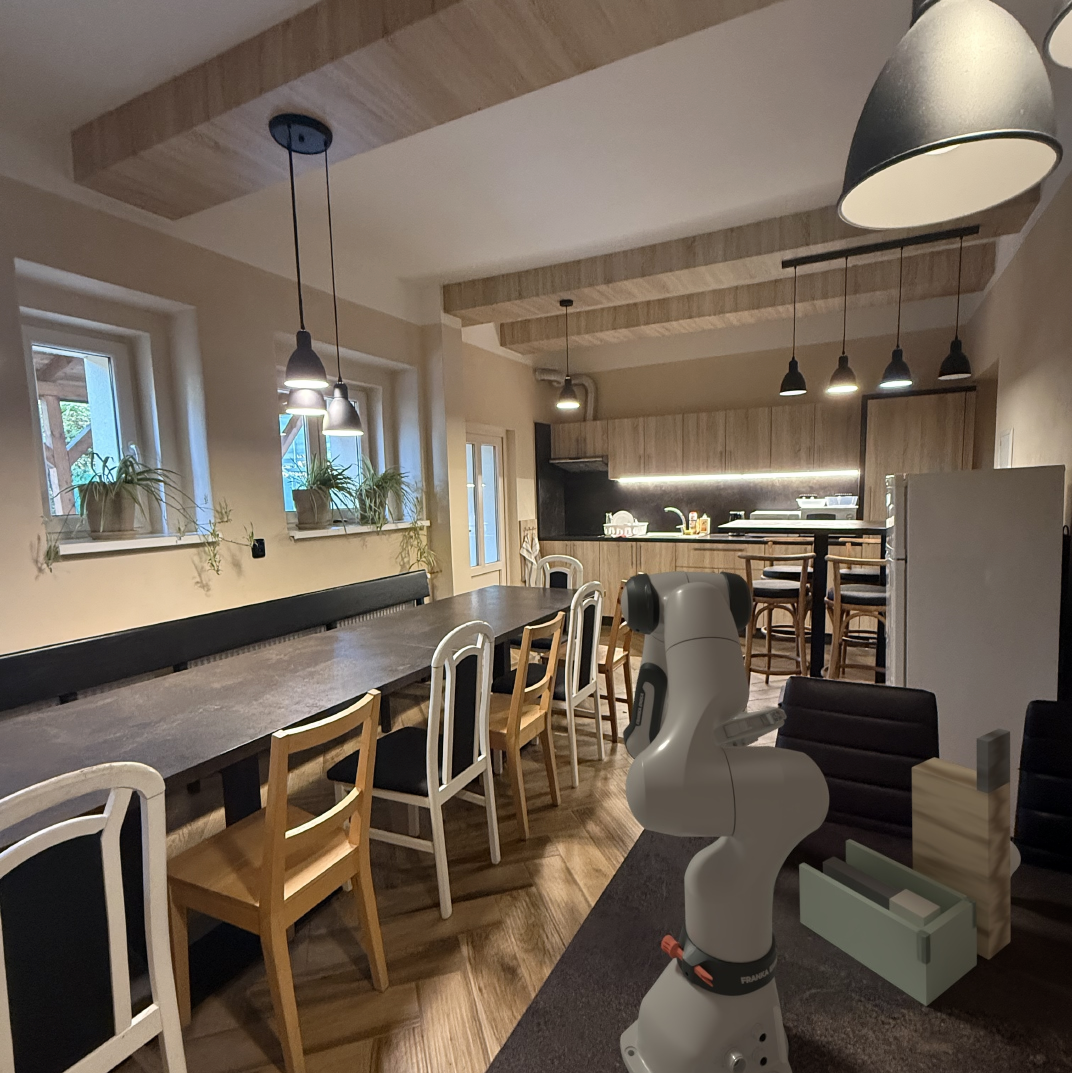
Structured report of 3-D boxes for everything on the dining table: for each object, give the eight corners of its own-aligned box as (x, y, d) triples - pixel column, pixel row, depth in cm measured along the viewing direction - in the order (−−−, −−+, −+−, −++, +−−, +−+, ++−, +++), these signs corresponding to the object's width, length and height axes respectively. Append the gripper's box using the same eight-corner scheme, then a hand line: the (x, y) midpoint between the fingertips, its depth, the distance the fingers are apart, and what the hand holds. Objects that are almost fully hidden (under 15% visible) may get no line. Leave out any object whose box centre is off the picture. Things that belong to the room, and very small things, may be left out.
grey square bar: (923, 940, 87) (923, 917, 87) (820, 880, 102) (819, 860, 102) (940, 929, 89) (940, 906, 89) (836, 871, 104) (836, 852, 104)
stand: (988, 959, 91) (987, 741, 89) (913, 917, 100) (911, 720, 99) (1010, 941, 94) (1010, 731, 92) (935, 902, 104) (934, 711, 102)
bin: (926, 1006, 83) (925, 937, 83) (800, 922, 100) (799, 864, 100) (976, 964, 90) (976, 900, 89) (850, 892, 107) (849, 838, 107)
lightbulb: (1028, 910, 101) (1028, 847, 100) (988, 906, 102) (987, 844, 102) (1008, 887, 107) (1007, 827, 106) (969, 884, 108) (969, 825, 108)
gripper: (675, 730, 120) (720, 713, 109) (747, 711, 130) (793, 693, 119) (687, 762, 117) (734, 748, 106) (759, 740, 127) (808, 724, 116)
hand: (766, 718), depth 113 cm, fingers open, 8 cm apart
